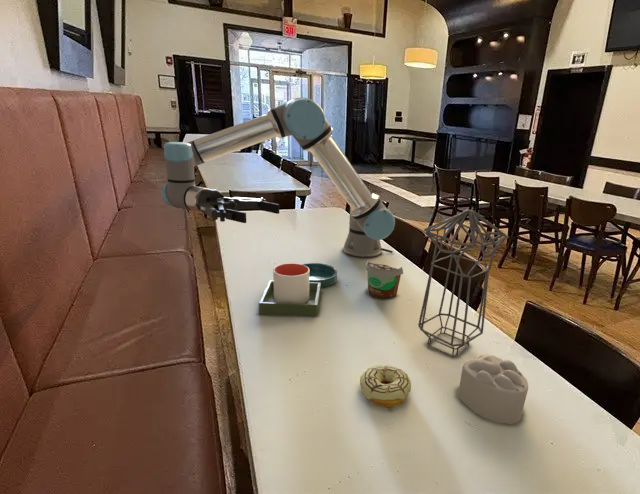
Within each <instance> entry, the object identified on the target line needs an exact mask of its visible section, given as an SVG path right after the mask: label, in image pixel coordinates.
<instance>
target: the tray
mask: <svg viewBox="0 0 640 494" xmlns="http://www.w3.org/2000/svg"><path fill="white" fill-rule="evenodd" d="M321 294H322V287H321V282H309V300H308V301H307V303H277V302H275V300H274V281H273V280H268V282H267V284H266V286H265V288H264V291H263V293H262V295H261V297H260V299H259V302H258V315H260V316H267V315H268V316H290V317H291V316H294V317H295V316H296V317H318V313H319V307H320V301H321V300H320V299H321Z"/></svg>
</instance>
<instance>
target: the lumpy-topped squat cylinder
mask: <svg viewBox="0 0 640 494" xmlns="http://www.w3.org/2000/svg"><path fill="white" fill-rule="evenodd" d="M457 391H458V392H457V395H458V398H459V400H460V401H461V402H462V403H463V404H465V405H466V406H467V408H469V409H470V410H472V411H473V412H474V413H476V414H477V415H479V416H480V417H482V418H484V419H486V420H489V421H492V422H495V423H499V424H507V425H512V424H516V423H519V422H520V421H521V419H522V415H523V411H524V407H525V403H526V399H527V395H528V391H529V383H528V379H527V378H526V376H525V375H524V374H523V373H522V371H521V370H519V369H518V367H517V365H516V364H515V363H514V362H513V361H512V360H509V359H502V358H500V357H498V356H496V355H493V354H481V355H479V356H477V357H475V358H473V359H469V360H466V361H465V362H463V364H462V369H461V374H460V379H459V386H458V390H457Z"/></svg>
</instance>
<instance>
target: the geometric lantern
mask: <svg viewBox="0 0 640 494" xmlns="http://www.w3.org/2000/svg"><path fill="white" fill-rule="evenodd" d="M466 217H468V222H469V225H467V224H464V222H465V219H466ZM481 222H482V223H484V224H485V225H487V226H489V228H491V229H493V230H494V231H495V232H494V231H488V230H486V228H485V227H484V225H483V224H482V223H481ZM457 225H458V227H457V228H456V231H455V232H454V234H453V236H452V238H449V237H447V236H448V235H449V234H450V232H451V231H452V230H453V229H455V227H456V226H457ZM461 229H462V231H463V232H464V233H465V235H467V236H468V237H469V238H470V240H471V241H470V243H464V242H459V241H455V240H456V238H457V236H458V235H459V232H460V230H461ZM467 229H469V230H470V232H469V231H468V230H467ZM442 230H443V234H442V235H440V234H439V231H442ZM434 232H436V233H434ZM422 233H423V234H425V235H426V236H427V237H428V239H429V240H430V241H431V242H432V243H433V244H434V251H433V256H432V260H431V262H430V270H429V274H428V278H427V283H426V287H425V291H424V296H423V297H424V298H423V302H422V306H421V310H420V315H419V319H418V324H417V327H418V329H419V330H420V331H421V332H422V333H423V334H424V335H425V336H426V337H427V338H428V339H427V344H426V345H427V346H428V347H429V348H431V349H434V350H436V351H438V352H439V353H442V354H445V355H447V356H448V357H450V358H457V357H459V355H461V354H462V353H463V352H464V351H465V350H467V348H468V347H469V346H470V343H471V342H472V341H473V340H476V339H477V338H478V337H480V336H481V335H483V333H484V327H485V318H486V317H485V315H486V306H487V298H488V297H487V296H488V288H489V287H488V286H489V276H490V270H491V268H492V265H493V259H494V256H495V254H496V251H497V249H498V248H499V247H501V245H502V244H503V243H504V242H505V241H506V240H507V239H509V238H510V236H509V235H507V234H506V233H505V232H504V231H502V230H501V229H499V228H498V227H497V226H495V225H494V224H492V223H491V222H490V221H489V220H487V219H485V217H484V216H482V215H481V214H479V213H478V212H476V211H475V210H473V209H465V210H464V211H462V212H460V213H458V214H455V215H453V216H451V217H448V218H446V219H444V220H441V221H439V222H437V223H434V224H433V225H430V226H428V227H425V228H423V229H422ZM491 235H493V236H494V235H495V237H492V236H491ZM478 237H479V239H480V240H478ZM488 239H489V240H488ZM446 241H447V242H449V243H450V247H449V245H448V243H447V242H446ZM439 242H440V244H439ZM443 242H444V245H445V246H446V248H447V249H446V250H445V249H443ZM477 244H478V245H479V246H477ZM453 245H458V246H463V247H462V248H459V249H456V250H453ZM493 245H494V248H492V250H491V251H490V248H491V246H493ZM485 247H487V250H486V251H487V252H486V251H485ZM473 248H475V249H480V250H481V252H482V255H481V256H480V257H479V258H478V259H477V260H474V259H471V258H467V257H464V256H463V255H464V254H465V252H466V251H467V250H470V249H473ZM437 249H438V252H437ZM460 252H461V253H460ZM440 253H444V254H448V255H447V256H444V257H441V258H439V259H437V257H438V256H439V255H440ZM457 253H460V254H459V255H456V254H457ZM489 257H490V260H489V264H487V261H486V259H489ZM446 259H449V263H448V264H449V265H448V267H447V268H448V269H447V268H445V267H443V266H442V267H441V266H440V265H436V264H435V263H437V262H439V261H443V260H446ZM453 259H454V260H455V264H456V266H455V271H453V270H451V268H452V263H453ZM461 259H463V260H466V261H470V262H472V263H475V264H474V265H473V266H472V267H471V268H470V270H469V271H468V272H467V274H465V273H464V271H463V270H462V267H461V265H460V260H461ZM481 259H483V262H484V263H483V262H480V261H481ZM478 264H479V265H482V266H484V267H486V268H485V270H482V271H480V272H478V273H476V274H473V275H470V274H471V272H472V271H473V270H474V269H475V267H476V266H477V265H478ZM434 267H435V268H437V269H440V270H443V271H446V276H445V277H446V278H445V281H444V287H443V292H442V297H441V301H440V305H439V311H438V313H437V314H435V315H433V316H431V317H430V318H428V319H425V318H426V314H427V313H426V312H427V307H428V301H429V295H430V289H431V283H432V278H433V271H434ZM458 271H459V272H460V273H458ZM450 273H451V274H454V278H453V284H452V289H451V296H450V302H449V307H448V313H444V312H442V309H443V304H444V301H445V296H446V291H447V287H448V282H449V278H450ZM484 273H485V274H484ZM482 274H484V281H483V287H482V293H481V298H480V299H481V300H480V306H479V312H478V319H477V324H475V323H472V322H469V321H467V320H468V311H469V301H470V294H471V293H470V292H471V285H472V284H471V283H472V278H473V279H474V278H475V277H477V276H479V275H482ZM458 276H459V277H460V280H459V284H458V285H459V287H458V293H457V300H456V306H455V314H454V315H453V314H451V313H452V306H453V301H454V295H455V289H456V284H457V283H456V282H457V278H458ZM464 278H468V282H467V291H466V298H465V299H466V300H465V311H464V318H463V319H462V318H460V317H458V314H459V306H460V301H461V300H460V299H461V296H462V295H461V294H462V287H463V281H464ZM442 316H445V317H447V318H446V322H445V324H444V326H443V321H442ZM438 317H439V322H440V326H441V327H439V328H438V329H436V330H435V331H434V332H432V333H431V332H430V331H427V330H425V329H424V325H425V324H426V323H428V322H430V321H432V320H434V319H436V318H438ZM450 318H453V319H454V320H453V326H452V328H449V327H447V326H448V323H449V319H450ZM457 321H460V322H461V323H463V327H462V332H460V331H457V330H456V328H457V327H456V326H457ZM467 324H468V325H470V326H472V327H474V328H475V329H474V330H472V332H470V333H469V334H468V335H467V334H466V330H467V329H466V328H467ZM480 324H481V325H480ZM443 329H444V330H443ZM442 330H443V331H442ZM447 330H448V331H450V332H451V334H450V333H447V332H446V331H447ZM477 330H478V331H479V332H478V333H477V334H475V335H473V334H474V333H475V332H476V331H477ZM438 332H439V333H438ZM437 333H438V334H437ZM435 334H437V335H435ZM455 334H459V335H462V338H460V337H457V336H455ZM441 335H446V336H449V337H450V338H451V339H450V342H449V341H448V340H445V339H443V338H441V337H440V336H441ZM472 335H473V336H472ZM432 337H433V338H432ZM465 338H466V339H465ZM455 339H456V340H458V341H460V342H461V343H454V340H455ZM432 342H435V343H437V344H440V345H443V346H444V347H447V348H449V349H451V350H452V353H448V352H446V351H444V350H441V349H439V348H437V347H435V346H432ZM462 347H464V348H463V349H462V350H460V351H459V349H461V348H462ZM455 351H456V353H455Z"/></svg>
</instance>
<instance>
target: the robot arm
mask: <svg viewBox="0 0 640 494" xmlns="http://www.w3.org/2000/svg"><path fill="white" fill-rule="evenodd" d="M333 130H334V129H333V127H332V126H331V124H330V122H329V121H328V120H327V118H326V115H325V112H324V110H323V108H322V107H321V105H320V104H319V103H318V102H316V101H315V100H313V99H312V98H307V97H296V98H295V97H294V98H291V99H289V100H287V101H285V102H284V103H282V104H280V105H278V106H276V107H273V108H271V109H268V111H267V113H266V114H263V115H260V116H257V117H255V118H252V119H250V120H249V119H248V120H247V121H244V122H241V123H237V124H235V125H233V126H230V127H227V128H224V129H220V130H218V131H216V132H213V133H210V134H206V135H205V136H201V137H198V138H196V139H194V140H190V141H187V142H183V141H169V142H165V143H164V144H163V157H164V163H165V170H166V177H167V178H166V179H167V180H166V181H167V182H166V183H164V184H163V185H162V188H161V191H160V197H161V199H162V201H163V202H164V203H165V204H166V205H168V206H171V207H174V208H176V209H182V210H187V211H191V212H196V213H198V214H199V215H202V214H204V215H207V216H208V217H210V218H211V219H212V220H214V221H217V220H218V219H219V221H220V222H223V223H225V221H226V220H228V221H229V220H230V221H233V222H238V223H241V224H247V212H245V211H239V210H240V209H241V210H260V211H262V212H267V213H272V214H275V215H279V214H280V203H276V202H271V201H270V202H269V201H267V199H266V198H264V197H261V198H256V197H241V196H237V195H236V196H235V195H234V196H233V197H229V196H224V194H223V193H222V192H221V191H220V190H217V189H212V188H208V187H203V186H197V185H196V178H195V167H197V166H200V165H203V164H205V163H207V162H211V161H213V160H216V159H219V158H222V157H224V156H227V155H230V154H233V153H235V152H239V151H241V150H243V149H246V148H249V147H252V146H255V145H257V144H260V143H264V142H266V141H268V140H272V139H274V138H279V139H283V138H286V137H290V136H292V137H293V138H294V139H295V141H296V142H297V144H298V145H299V146H300V147H301V149H302V150H303V151H305V152H309V153H311V155H312V156H313V158H314V159H315V160H316V161H317V163H318V165H320V167H321V168H322V170H323V171H324V173H325V174H326V175H327V177H328V178H329V180H330V181H331V182H332V184H333V185H334V186H335V188H336V189H337V190H338V192H339V193H340V195H341V196H342V197H343V199H344V200H345V201H346V203H347V204H348V205H349V222H348V223H349V227H348V233H347V236H346V238H345V242H344V245H343V252H344V253H345V254H346V255H349V256H352V257H355V258H375V257H377V256H380V255H381V253H382V251H383V252H387V253H390V254H393V252H394V250H391V249H388V248H387V249H386V248H383V247H382V245H381V240H384V239H386V238H388V237H389V236H390V235H391V234H392V233H393V231H394V230H395V226H396V219H395V216H394V214H393V212H392V211H390V209H388V208H387V207H386V205H385V204H384V203H383V201H382V200H381V196H380V195H378V194H375V193H371V191H370V190H369V188H368V187H367V185H366V184H365V182H364V181H363V180H362V178H361V177H360V175H359V173H358V172H357V170H356V169H355V168H354V167H353V165H352V164H351V162H350V161H349V159H348V157H347V156H346V155H345V153H344V151H343V149H341V147H340V145H339V144H338V143H337V141H336V140H335V138H334V137H333Z"/></svg>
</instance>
